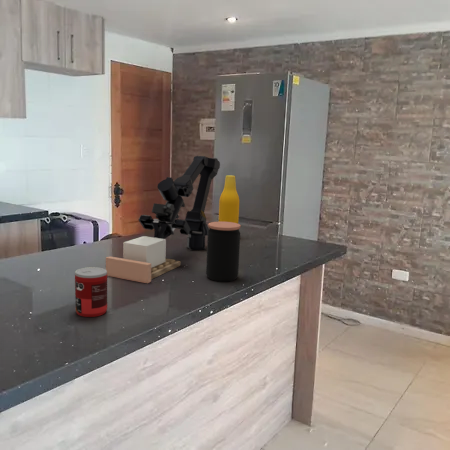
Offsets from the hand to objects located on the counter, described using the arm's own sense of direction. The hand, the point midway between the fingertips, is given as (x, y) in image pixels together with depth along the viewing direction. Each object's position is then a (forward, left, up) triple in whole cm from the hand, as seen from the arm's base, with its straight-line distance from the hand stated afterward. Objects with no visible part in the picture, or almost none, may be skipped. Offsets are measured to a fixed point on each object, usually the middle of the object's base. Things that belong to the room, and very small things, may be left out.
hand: (155, 243), depth 162 cm
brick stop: (+11, +11, -8) cm, 18 cm away
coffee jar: (-19, +17, -8) cm, 27 cm away
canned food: (+25, +37, -9) cm, 46 cm away
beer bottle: (-43, -38, -8) cm, 58 cm away
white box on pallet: (+4, +4, -6) cm, 9 cm away
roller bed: (+3, +3, -8) cm, 9 cm away
